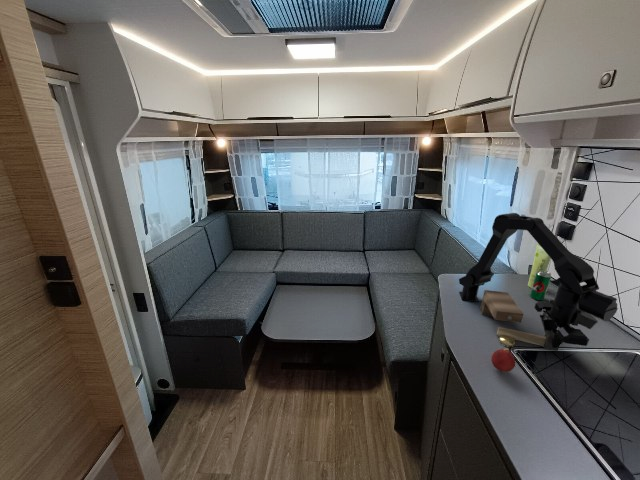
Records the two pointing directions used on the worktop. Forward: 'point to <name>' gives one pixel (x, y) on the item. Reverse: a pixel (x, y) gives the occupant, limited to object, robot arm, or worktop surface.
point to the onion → (503, 360)
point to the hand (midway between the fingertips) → (551, 343)
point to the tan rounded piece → (507, 340)
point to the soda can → (540, 284)
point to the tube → (539, 263)
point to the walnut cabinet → (500, 306)
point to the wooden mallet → (529, 337)
